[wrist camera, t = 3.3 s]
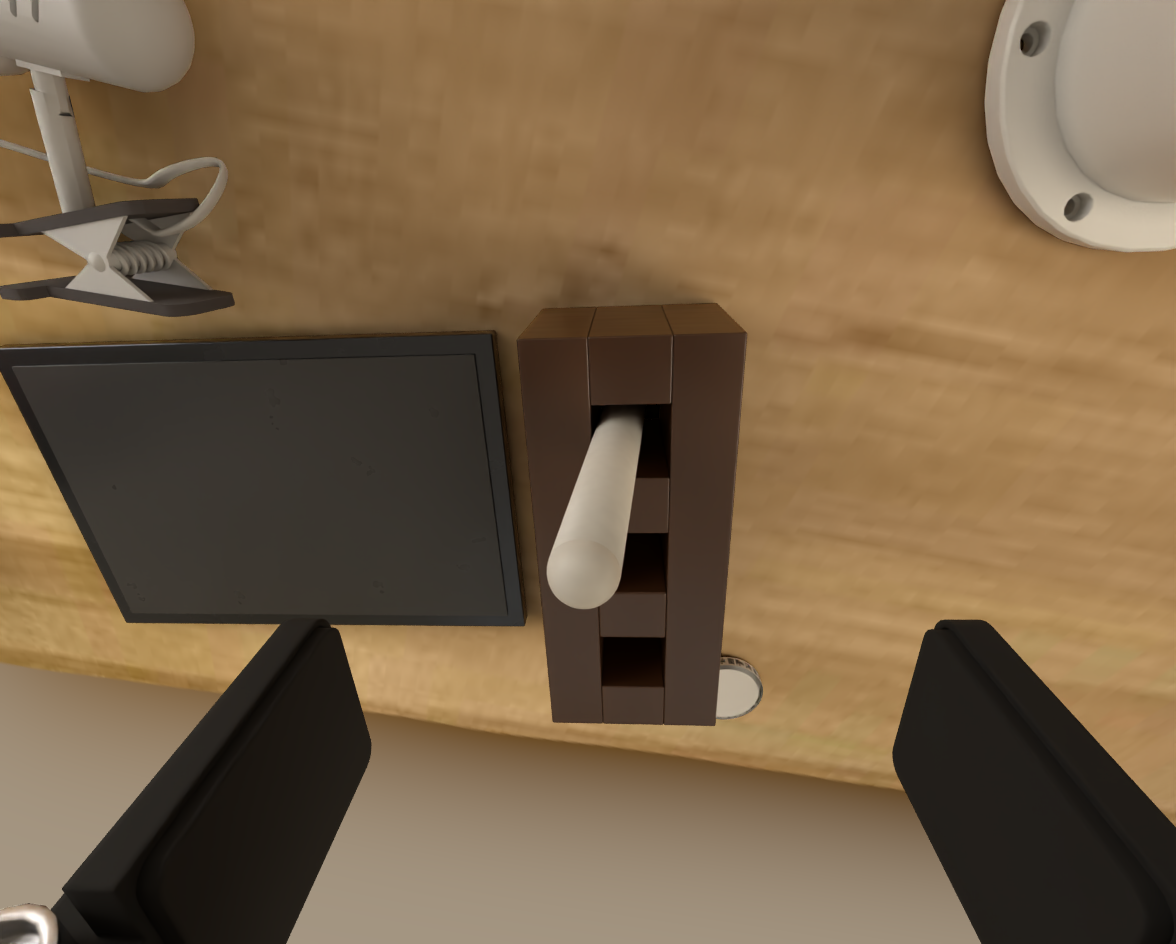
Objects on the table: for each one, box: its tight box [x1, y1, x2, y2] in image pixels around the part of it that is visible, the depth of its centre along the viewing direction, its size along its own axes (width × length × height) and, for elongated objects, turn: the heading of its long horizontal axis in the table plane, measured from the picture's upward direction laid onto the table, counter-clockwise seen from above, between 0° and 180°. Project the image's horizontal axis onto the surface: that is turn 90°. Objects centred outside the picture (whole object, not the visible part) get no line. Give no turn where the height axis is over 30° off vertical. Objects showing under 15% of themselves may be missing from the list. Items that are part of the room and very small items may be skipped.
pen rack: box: [517, 303, 747, 726], centre depth 23 cm, size 7×17×6 cm, turn 2°
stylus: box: [547, 404, 646, 609], centre depth 17 cm, size 2×2×14 cm
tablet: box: [0, 330, 527, 626], centre depth 26 cm, size 22×15×1 cm
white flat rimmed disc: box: [716, 657, 763, 719], centre depth 30 cm, size 4×4×1 cm
